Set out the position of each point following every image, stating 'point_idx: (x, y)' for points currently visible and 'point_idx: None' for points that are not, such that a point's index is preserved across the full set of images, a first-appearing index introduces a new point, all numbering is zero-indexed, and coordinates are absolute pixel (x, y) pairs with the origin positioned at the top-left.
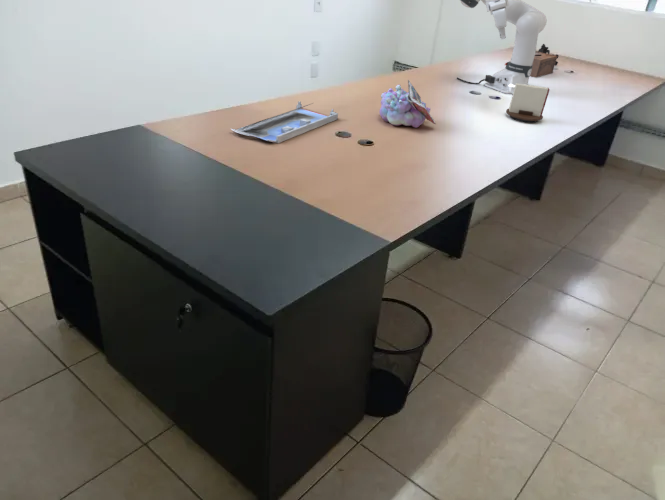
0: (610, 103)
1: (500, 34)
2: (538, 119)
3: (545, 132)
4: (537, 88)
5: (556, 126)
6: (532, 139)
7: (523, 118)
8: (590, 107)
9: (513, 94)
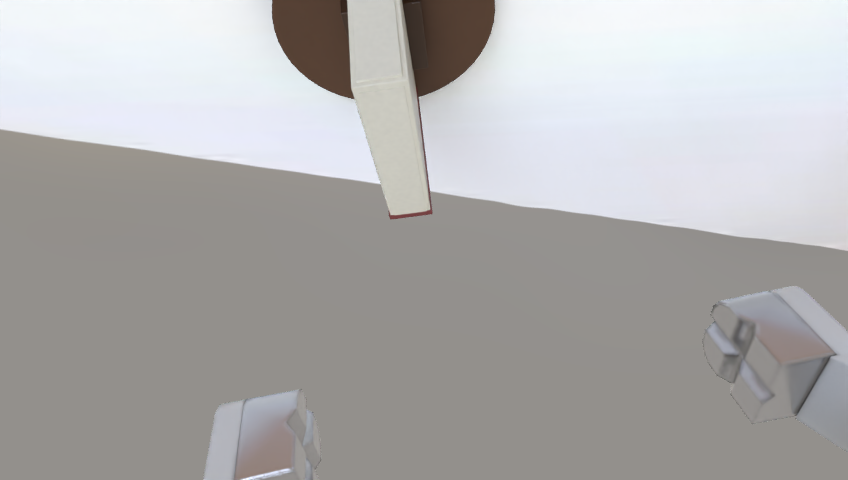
0: (791, 224)
1: (769, 367)
2: (325, 87)
3: (214, 103)
4: (380, 179)
5: (361, 129)
6: (15, 68)
7: (274, 26)
8: (725, 193)
9: (353, 25)
